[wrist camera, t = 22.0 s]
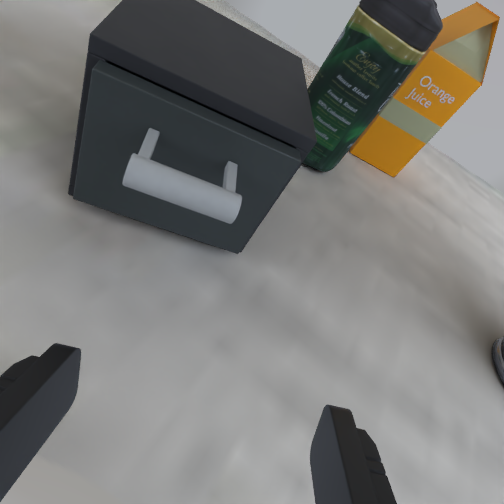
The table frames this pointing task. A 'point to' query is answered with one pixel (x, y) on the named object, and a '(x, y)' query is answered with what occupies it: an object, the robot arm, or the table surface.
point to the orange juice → (431, 90)
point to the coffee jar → (366, 71)
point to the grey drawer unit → (176, 161)
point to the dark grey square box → (205, 68)
